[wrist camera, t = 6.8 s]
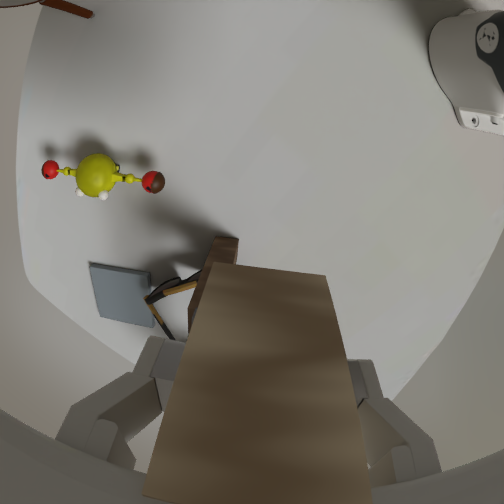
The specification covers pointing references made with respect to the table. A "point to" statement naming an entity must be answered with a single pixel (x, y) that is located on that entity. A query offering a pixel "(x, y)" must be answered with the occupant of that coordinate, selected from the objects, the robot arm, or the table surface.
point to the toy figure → (101, 176)
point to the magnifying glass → (52, 1)
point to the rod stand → (219, 252)
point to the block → (261, 399)
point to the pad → (122, 294)
